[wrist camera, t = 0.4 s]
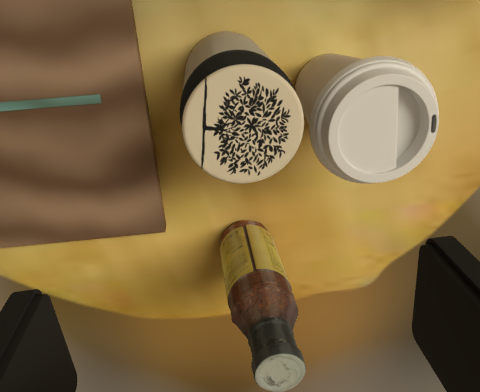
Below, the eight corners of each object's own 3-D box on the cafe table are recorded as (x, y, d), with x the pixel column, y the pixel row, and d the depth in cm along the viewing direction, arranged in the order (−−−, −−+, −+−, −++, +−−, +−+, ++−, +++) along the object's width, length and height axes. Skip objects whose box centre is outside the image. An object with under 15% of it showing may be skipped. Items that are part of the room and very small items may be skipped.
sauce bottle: (222, 266, 52) (235, 411, 35) (215, 220, 50) (226, 352, 32) (277, 258, 53) (317, 398, 35) (273, 212, 50) (315, 339, 32)
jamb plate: (-134, -76, 35) (-194, -87, 30) (117, -91, 36) (103, -104, 31) (-17, 242, 48) (-44, 275, 43) (166, 225, 49) (162, 254, 44)
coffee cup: (353, 141, 47) (416, 204, 34) (268, 121, 45) (298, 178, 32) (388, 51, 43) (474, 80, 30) (296, 25, 42) (345, 44, 28)
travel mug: (276, 41, 42) (325, 76, 26) (256, 121, 45) (289, 197, 29) (193, 22, 41) (190, 46, 24) (179, 106, 44) (168, 176, 28)
